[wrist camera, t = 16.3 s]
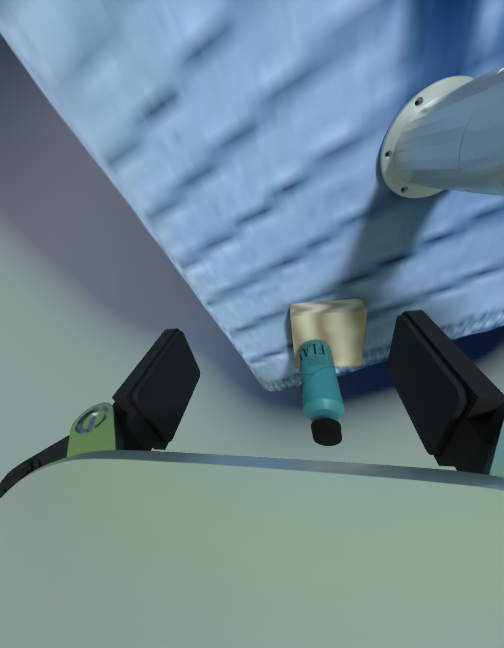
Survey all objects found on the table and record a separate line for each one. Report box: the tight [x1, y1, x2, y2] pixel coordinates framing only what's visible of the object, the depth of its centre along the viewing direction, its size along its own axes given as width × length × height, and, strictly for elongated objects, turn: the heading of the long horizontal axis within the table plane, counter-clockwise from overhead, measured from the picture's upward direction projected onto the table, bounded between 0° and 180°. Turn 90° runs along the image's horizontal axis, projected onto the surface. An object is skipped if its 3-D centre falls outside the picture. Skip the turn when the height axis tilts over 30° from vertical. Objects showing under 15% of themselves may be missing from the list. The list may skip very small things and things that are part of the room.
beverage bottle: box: [299, 339, 345, 446], centre depth 38 cm, size 6×7×20 cm
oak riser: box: [290, 298, 368, 368], centre depth 48 cm, size 14×14×5 cm
